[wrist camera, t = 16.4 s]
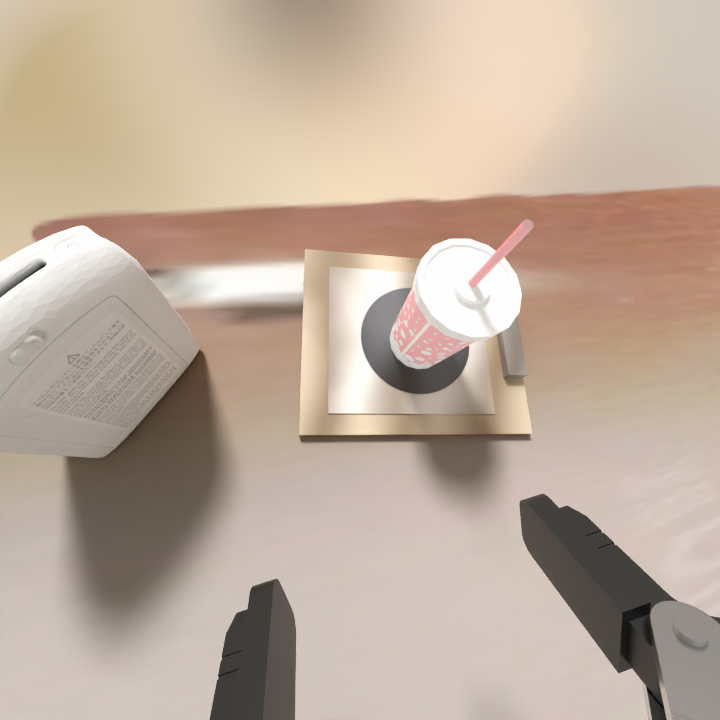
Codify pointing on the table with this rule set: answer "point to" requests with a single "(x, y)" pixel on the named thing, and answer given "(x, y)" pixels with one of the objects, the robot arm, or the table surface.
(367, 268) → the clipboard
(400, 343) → the beverage cup
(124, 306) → the photo printer
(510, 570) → the table surface
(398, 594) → the table surface
